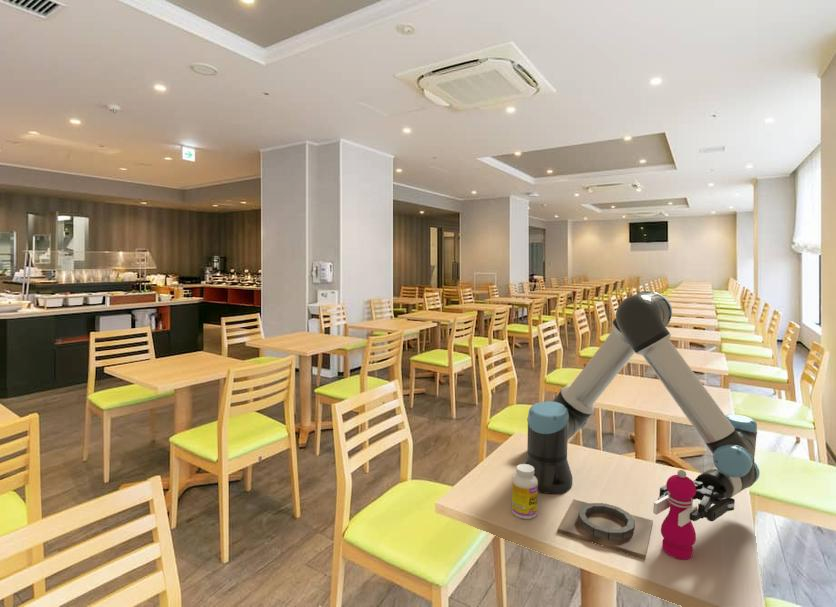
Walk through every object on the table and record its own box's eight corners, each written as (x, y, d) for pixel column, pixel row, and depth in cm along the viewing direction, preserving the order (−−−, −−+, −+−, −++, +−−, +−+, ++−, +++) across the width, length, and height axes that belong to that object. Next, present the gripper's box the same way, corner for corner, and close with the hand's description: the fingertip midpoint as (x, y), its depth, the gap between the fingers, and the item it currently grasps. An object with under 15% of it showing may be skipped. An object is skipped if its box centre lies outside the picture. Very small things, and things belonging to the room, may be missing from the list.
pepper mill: (657, 553, 109) (662, 472, 107) (661, 537, 115) (666, 460, 113) (693, 565, 105) (699, 481, 103) (695, 548, 111) (701, 468, 109)
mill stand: (557, 532, 118) (557, 521, 118) (573, 502, 131) (573, 492, 131) (645, 559, 107) (646, 547, 107) (652, 523, 121) (653, 513, 121)
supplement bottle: (530, 523, 122) (531, 476, 120) (507, 514, 126) (508, 468, 124) (541, 511, 127) (542, 466, 125) (519, 503, 131) (519, 459, 130)
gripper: (757, 515, 112) (708, 551, 99) (680, 484, 127) (629, 511, 114) (759, 485, 111) (710, 517, 98) (682, 457, 126) (631, 482, 113)
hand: (667, 514), depth 106 cm, fingers closed on pepper mill, 5 cm apart
